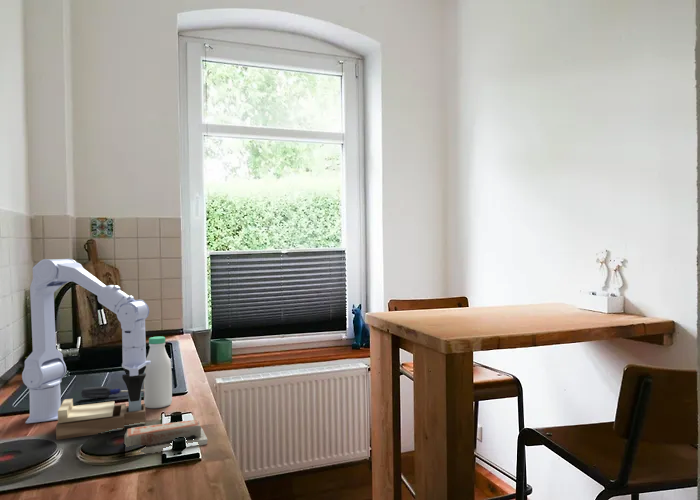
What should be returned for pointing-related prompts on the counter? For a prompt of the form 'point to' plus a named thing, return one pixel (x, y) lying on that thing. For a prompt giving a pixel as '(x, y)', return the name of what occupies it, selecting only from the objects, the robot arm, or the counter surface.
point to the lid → (84, 411)
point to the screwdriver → (100, 392)
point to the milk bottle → (157, 375)
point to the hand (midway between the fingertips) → (135, 397)
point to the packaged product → (164, 435)
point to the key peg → (135, 405)
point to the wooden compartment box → (100, 423)
